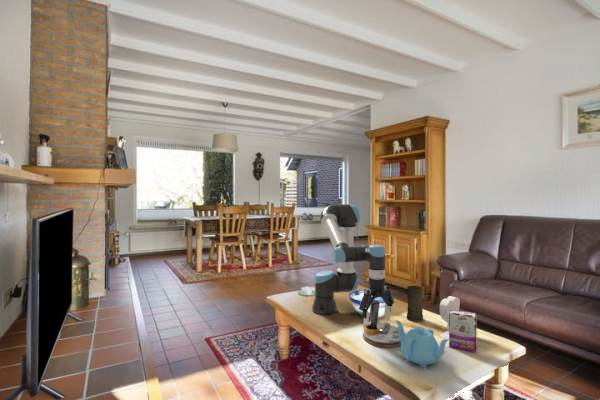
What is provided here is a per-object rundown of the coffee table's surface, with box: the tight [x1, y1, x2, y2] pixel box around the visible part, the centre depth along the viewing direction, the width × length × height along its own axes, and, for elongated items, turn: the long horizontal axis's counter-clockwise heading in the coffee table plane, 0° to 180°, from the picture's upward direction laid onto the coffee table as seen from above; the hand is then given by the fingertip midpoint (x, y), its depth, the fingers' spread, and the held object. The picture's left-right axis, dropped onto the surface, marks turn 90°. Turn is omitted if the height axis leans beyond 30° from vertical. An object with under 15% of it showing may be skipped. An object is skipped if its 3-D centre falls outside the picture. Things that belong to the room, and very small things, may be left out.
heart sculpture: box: [439, 295, 461, 339], centre depth 166 cm, size 16×5×18 cm, turn 132°
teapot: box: [395, 319, 450, 369], centre depth 139 cm, size 16×20×14 cm
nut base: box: [362, 332, 401, 349], centre depth 161 cm, size 20×20×1 cm
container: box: [406, 285, 424, 323], centre depth 185 cm, size 9×9×18 cm
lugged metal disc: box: [362, 321, 400, 345], centre depth 161 cm, size 19×19×4 cm
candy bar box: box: [448, 310, 478, 353], centre depth 150 cm, size 11×5×16 cm, turn 59°
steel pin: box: [368, 299, 381, 329], centre depth 159 cm, size 4×4×16 cm
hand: (376, 321), depth 157 cm, fingers open, 13 cm apart
